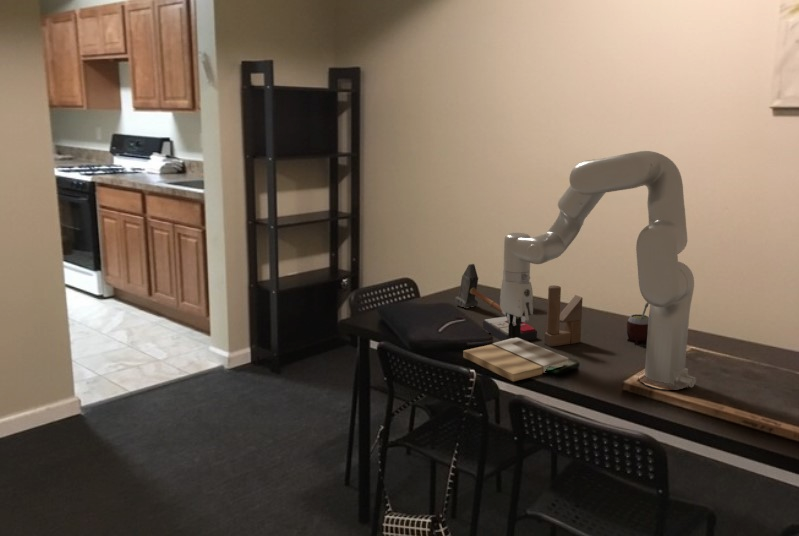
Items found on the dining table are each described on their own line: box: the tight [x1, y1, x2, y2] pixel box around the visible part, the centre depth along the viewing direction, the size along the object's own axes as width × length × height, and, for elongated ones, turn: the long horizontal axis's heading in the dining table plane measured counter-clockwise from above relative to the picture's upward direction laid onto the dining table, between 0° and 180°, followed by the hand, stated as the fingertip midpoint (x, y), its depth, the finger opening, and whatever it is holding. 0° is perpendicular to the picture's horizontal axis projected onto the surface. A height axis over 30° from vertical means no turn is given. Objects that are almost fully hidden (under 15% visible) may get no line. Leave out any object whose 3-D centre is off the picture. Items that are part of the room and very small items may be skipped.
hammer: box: [454, 263, 503, 314], centre depth 242 cm, size 6×16×30 cm
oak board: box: [462, 344, 543, 382], centre depth 194 cm, size 22×10×2 cm, turn 31°
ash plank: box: [491, 338, 570, 374], centre depth 199 cm, size 22×9×2 cm, turn 31°
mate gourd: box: [626, 302, 650, 346], centre depth 211 cm, size 8×8×15 cm
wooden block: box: [543, 285, 583, 347], centre depth 211 cm, size 4×11×18 cm, turn 111°
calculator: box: [482, 316, 538, 341], centre depth 221 cm, size 11×4×15 cm
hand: (514, 336), depth 206 cm, fingers closed
